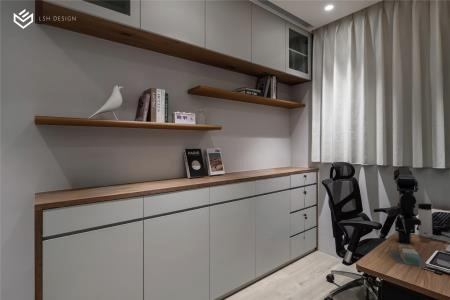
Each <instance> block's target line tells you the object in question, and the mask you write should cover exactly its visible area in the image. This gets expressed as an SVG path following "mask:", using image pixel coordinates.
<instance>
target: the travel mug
mask: <svg viewBox="0 0 450 300" xmlns="http://www.w3.org/2000/svg"><path fill="white" fill-rule="evenodd" d="M432 205H433V204H432V203H418V204H417V212H418V213H417V215H418V216H417V218H418V219H419V220H420V221H421V225H418V236H419V237H421V238H424V239H432V238H433V215H432V213H433V211H432V207H433V206H432Z"/></svg>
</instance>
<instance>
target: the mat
mask: <svg viewBox="0 0 450 300" xmlns="http://www.w3.org/2000/svg"><path fill="white" fill-rule="evenodd" d="M388 251H389V253H390V254H391V256H392V258H393V259H394V261H395V263H396V264H401V265H407V266H411V265H410V264H405V262H404V261H403V259H402V258H401V256H400V250H396V249H388ZM412 266H415V267H420V268H429V269H430V266H429V265H428V264H427V263H426V262H425V261H424V259H423V258H422V257H421V255H419V266H417V265H412Z"/></svg>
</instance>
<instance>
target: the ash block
mask: <svg viewBox="0 0 450 300" xmlns="http://www.w3.org/2000/svg"><path fill="white" fill-rule="evenodd" d="M398 248H399V249H398V251H400V256H401V258H402V259H403V261H404V262H405V264H404V265H406V264H410V265H409V266H413V265H417V266H416V267H420V266H419V256H420V254H419V253H418V252H417V251H416V250H415V247H413V246H411V245H404V244H399V247H398Z"/></svg>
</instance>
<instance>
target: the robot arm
mask: <svg viewBox="0 0 450 300" xmlns="http://www.w3.org/2000/svg"><path fill="white" fill-rule="evenodd" d="M393 181H394V183H395V184H396V191H397V192H398V203H397V205H394V206H391V207H390V206H389V207H386V208H385V211H386V214H387V215H388V217H389V218H391V217H394V216H396V217H395V218H396V220H394V231H395V232H397V238H395V240H396V241H397V242H398V243H399V244H403V245H404V244H406V245H414V243H413V242H412V239H411V238H412V237H411V235H412V234H413V235H414V234H416V226H419V225H421V221H420V220H419V219H418V216H417V215H416V214H417V213H415V209H416V203H417V199H416V197H415V195H414V193H418V191H419V190H420V189H419V182H418V180H417V178H415V177H414V175H413V172H412V171H411V170H410V167H408V166H398V167H397V169H395V170H393Z"/></svg>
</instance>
